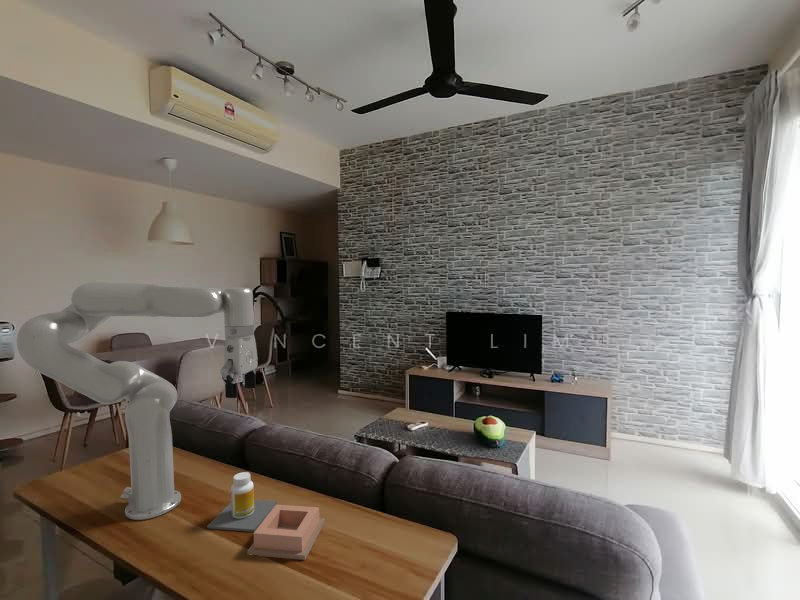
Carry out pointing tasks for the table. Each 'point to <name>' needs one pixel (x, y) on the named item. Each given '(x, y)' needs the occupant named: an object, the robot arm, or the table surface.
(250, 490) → the supplement bottle
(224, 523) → the rubber mat
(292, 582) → the table surface
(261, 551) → the collar block
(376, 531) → the table surface
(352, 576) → the table surface
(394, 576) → the table surface
